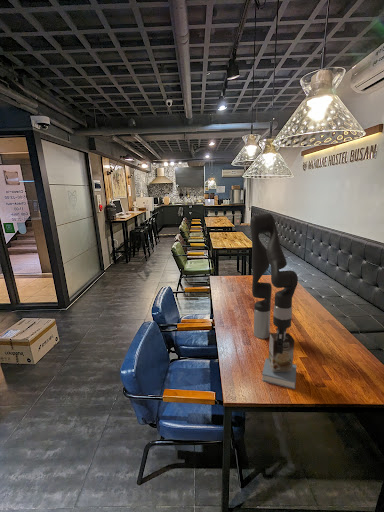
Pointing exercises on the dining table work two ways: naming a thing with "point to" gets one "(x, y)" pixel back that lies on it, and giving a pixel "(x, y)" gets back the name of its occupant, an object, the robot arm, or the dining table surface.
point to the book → (279, 376)
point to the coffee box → (281, 360)
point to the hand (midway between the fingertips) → (280, 347)
